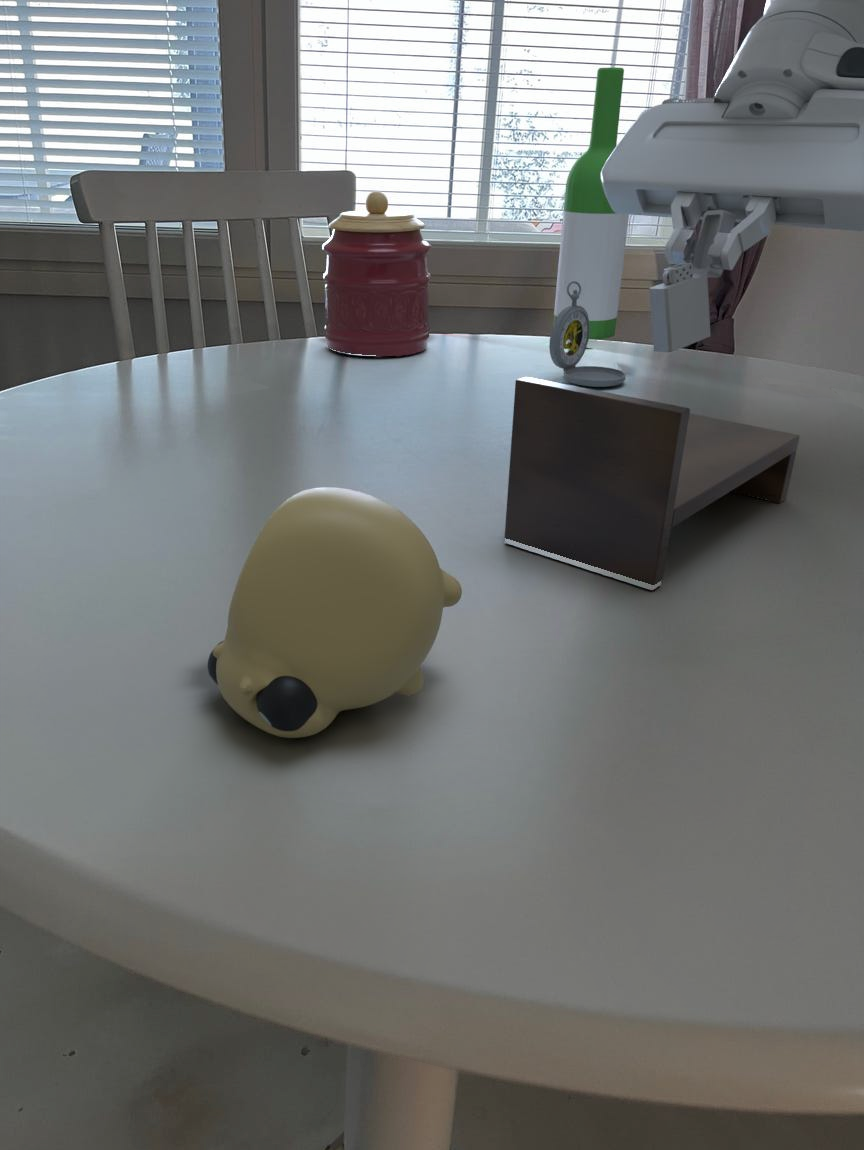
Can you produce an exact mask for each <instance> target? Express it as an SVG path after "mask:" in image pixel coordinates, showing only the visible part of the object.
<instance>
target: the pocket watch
mask: <svg viewBox="0 0 864 1150" xmlns="http://www.w3.org/2000/svg"><path fill="white" fill-rule="evenodd" d="M573 283H575V284H577V285H578V287H579V292H578V291H577V290H574V291H573V292H574V293H573V294H572V295H571V294H570V292H569V287H570V285H571V284H573ZM577 292H578V293H577ZM567 293H568V295H569V296H570V297H571V300H572V306H568V307H566V308H565V309H563V310H562V311H561V312H560V314H559V315H558V317H557V318H556V320H555V322H554V321H553V323H554V325H553V324H552V327H551V330H550V331H551V332H550V336H549V355H550V359H551V361H552V363H553V364H554V365H555V366H556V367H558V368H559V369H562V371H563V379H564V380H565V381H566V382H569V383H571V384H573V385H576V386H579V387H581V386H582V387H589V388H590V387H591V388H607V387H615V386H618V385H620V384H623V383H624V382H625V381H626V378H627V373H625V372H624V371H622V370H620V369H617V368H613V367H607V366H606V367H605V366H598V365H597V366H595V365H586V366H585V365H582V366H577V365H578V363H579V362H580V361H581V359H582V358H583V356H584V354H585V352H586V350H587V349H586V348H588V344H589V340H590V339H589V334H590V325H589V318H588V314H587V312H586V311H585V309H584V308H583V307H581V306H578V305H577V299H578V298H579V295H580V293H581V286H580V284H579V283H578V282H575V281H572V282H570V283H569V284H568V286H567ZM574 328H575V331H574ZM570 336H571V337H570ZM563 344H565V346H564V345H563ZM569 345H570V346H569ZM565 350H567V351H565Z"/></svg>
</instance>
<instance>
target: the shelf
mask: <svg viewBox="0 0 864 1150" xmlns="http://www.w3.org/2000/svg"><path fill="white" fill-rule="evenodd" d="M512 413H513V414H512V425H511V426H512V427H511V428H512V429H511V438H510V439H511V440H510V452H509V453H510V454H509V468H508V469H509V470H508V484H507V496H506V498H507V499H506V508H505V509H506V510H505V511H506V512H505V524H504V538H506V539H510V540H513V541H516V542H519V543H522V544H525V545H528V546H532V547H535V548H538V549H541V550H544V551H547V552H550V553H554V554H557V555H560V556H563V557H566V558H569V559H572V560H576V561H579V562H582V563H585V564H588V565H591V566H594V567H598V568H601V569H604V570H607V571H610V572H613V573H616V574H620V575H623V576H626V577H629V578H632V579H635V580H638V581H642V582H645V583H648V584H651V585H655V584H657V583H658V582H660V581H661V580H662V581H663V578H664V573H665V567H666V561H667V554H668V548H669V542H670V537H671V531H672V528H673V527H675V526H677V525H679V524H680V523H682V522H683V521H685V520H686V519H688V518H689V517H691V516H693V515H695V514H696V513H698V512H699V511H701V510H703V509H704V508H705V507H707V506H709V505H710V504H712V503H714V502H716V501H717V500H718V499H720V498H722V497H723V496H725V495H727V494H728V493H734V492H736V493H735V494H738V493H741V494H740V495H742V494H745V495H744V496H746V495H750V496H754V497H759V498H763V499H767V500H770V501H769V502H771V501H774V502H773V503H775V502H778V503H777V504H781V503H783V502H784V501H786V500H785V499H787V495H788V491H789V487H790V482H791V478H792V473H793V469H794V465H795V461H796V456H797V450H798V447H799V442H800V437H801V435H800V434H797V433H792V432H786V431H782V430H776V429H771V428H766V427H761V426H756V425H751V424H747V423H741V422H736V421H731V420H725V419H721V418H716V417H710V416H705V415H701V414H695V413H691V408H689V407H686V406H680V405H675V404H671V403H670V404H669V403H664V402H660V401H654V400H649V399H644V398H639V397H634V396H628V395H624V394H617V393H612V392H609V391H603V390H597V389H592V388H587V387H583V386H582V387H581V386H578V385H572V384H566V383H563V382H562V383H561V382H557V381H551V380H546V379H540V378H535V377H529V376H524V377H521V378H518V379H516V380H515V384H514V399H513V412H512ZM730 491H732V492H730ZM750 496H749V497H750ZM754 497H753V498H754ZM759 498H758V499H759ZM763 499H762V500H763ZM767 500H766V501H767ZM782 501H783V502H782Z"/></svg>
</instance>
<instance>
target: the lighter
mask: <svg viewBox="0 0 864 1150" xmlns="http://www.w3.org/2000/svg"><path fill="white" fill-rule="evenodd" d="M735 220H736V215H735V214H733V213H730V212H728V211H725V210H711V211H706V212H705V213H704V216H703V220H701V224H700V228H699V233H698V237H697V239H696V241H697V245H696V249H695V253H694V256H693V257H692V262H691V263H680V264H674V265H671V266H669V267H667V268H664V269H662V271H663V272H662V283H660V284H657V285H654V286H651V287H649V288H648V293H649V306H650V307H649V308H650V317H651V320H650V321H651V329H652V343H653V344H652V345H653V352H658V353H659V352H661V353H673V352H675V351H677V350H680V349H683V348H685V347H688V346H691V345H692V344H693V345H694V344H696V343H697V342H701V341H703V340H705V339H707V338H710V337H711V320H710V318H711V317H710V300H709V298H710V297H709V281H708V280H709V278H720V277H721V276H722V275H723V272H724V270H723V269H715V268H711V267H710V265H709V264H710V261H709V260H708V257H707V255H708V250H709V247H710V245H712V244H713V243H714V238H715V236H716V234H717V232H725V233H729V232H730V231H731V230H732V229H733V228H735V225H736V224H735V223H736V222H735Z"/></svg>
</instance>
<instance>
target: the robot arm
mask: <svg viewBox="0 0 864 1150" xmlns="http://www.w3.org/2000/svg"><path fill="white" fill-rule="evenodd" d="M601 182H602V186H603V190H604V193H605V195H606V198H607V200H608V202H609V204H610V206H611V208H612V210H613V211H614V212H615V213H618V214H629V216H630V215H632V216H647V217H657V218H658V217H660V218H671V224H672V229H673V230H672V232H671V235H670V236H669V238H668V240H667V243H666V244H665V246H664V256H665V258H666V262H667V264H669V265H677V264H680V263H692V261H693V257H694V253H695V249H696V245H697V239H696V237H697V236H696V233H695V230H694V228H696V227H697V225H698V222H699V221H700V220H701V221H702V220H703V216H704V213H705V212H706V211H711V210H725V211H728V212H730V213H733V214H735V215H736V220H735V223H738V224H737V225H735V226H734V228H733V229H732V230H731V231H730V232H729V233H725V232H717V234H716V236H715V238H714V243H713V244H712V245H710V247H709V250H708V255H707V257H708V260H709V261H710V264H709V265H710V267H711V268H715V269H723V271H724V270H727V271H733V269H735V266H736V264H737V262H738V261H739V259H740V257H741V255H742V253H743V252H746V251H747V250H749V249H751V247H753V246H754V245H756V244H757V243H758V242H760V241H761V240H763V239H764V238H766V237H767V236H768V235H769V234H770V233H771V231H772V229H773V227H774V226H783V227H784V226H785V227H800V228H811V229H812V228H813V229H825V230H828V229H829V230H839V231H841V230H842V231H851V232H852V231H853V232H864V0H766V2H765V6H764V11H763V15H762V16H761V17H760V18H759V19H758V20H757V22H755V24H754V25H753V26H752V27H751V28H750V30H749V31H748V33H747V34H746V36H745V38H744V39H743V41H742V43H741V45H740V46H739V48H738V51H737V52H736V54H735V56H734V58H733V60H732V62H731V63H730V65H729V68H728V69H727V71H726V73H725V75H724V77H723V78H722V80H721V82H720V84H719V85H718V88H717V89H716V92H715V94H714V97H698V98H693V99H692V98H691V99H682V98H678V97H677V98H667V99H664V100H663V101H662V102H661V104H657V105H654V106H652V107H650V108H648V109H644V110H643V111H642V112H641V113H640V114H639V115H638V116H637V118H636V120H635V121H634V122H633V123H632V125H630V127H629V128H628V129H627V130H626V132H625V134H624V135H623V136H622V138H621V139H620V140H619V142H618V143H617V146H616V147H615V149H614V150H613V152H612V153H611V155H610V157H609V158H608V160H607V161H606V163H605V165H604V167H603V168H602V171H601Z"/></svg>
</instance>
